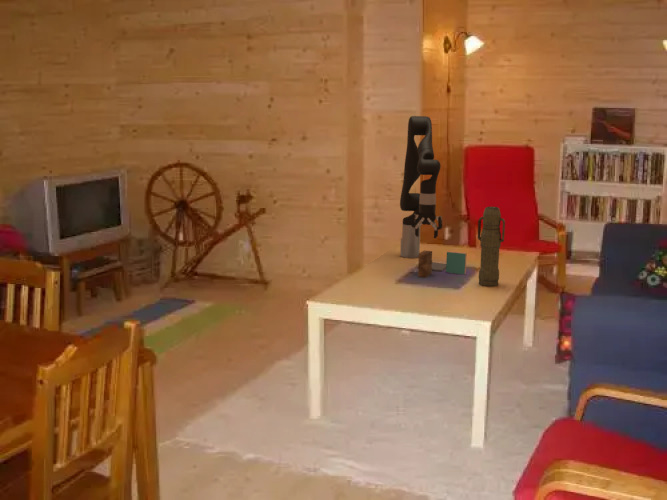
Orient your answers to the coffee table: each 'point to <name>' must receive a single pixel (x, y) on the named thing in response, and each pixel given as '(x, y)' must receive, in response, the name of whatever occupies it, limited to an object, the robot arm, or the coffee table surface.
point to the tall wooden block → (425, 263)
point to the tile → (456, 262)
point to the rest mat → (438, 266)
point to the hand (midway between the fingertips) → (426, 237)
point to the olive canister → (490, 246)
